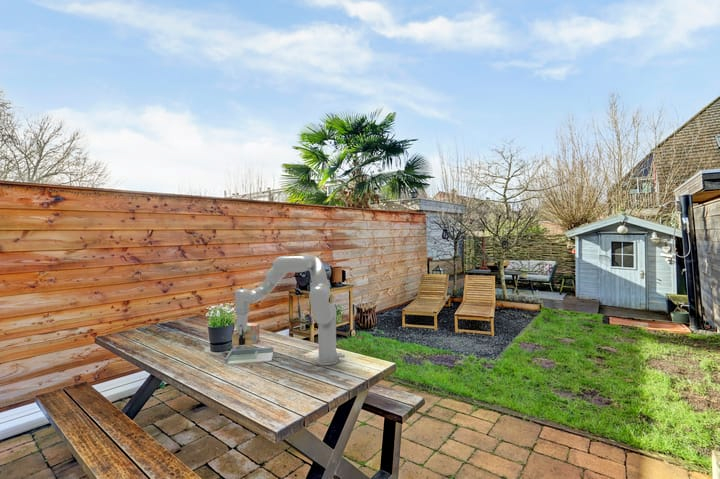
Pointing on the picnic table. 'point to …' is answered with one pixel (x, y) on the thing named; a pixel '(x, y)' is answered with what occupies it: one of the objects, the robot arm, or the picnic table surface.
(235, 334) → the ochre block
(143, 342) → the picnic table surface
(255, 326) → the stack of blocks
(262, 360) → the arena
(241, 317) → the robot arm
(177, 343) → the picnic table surface
